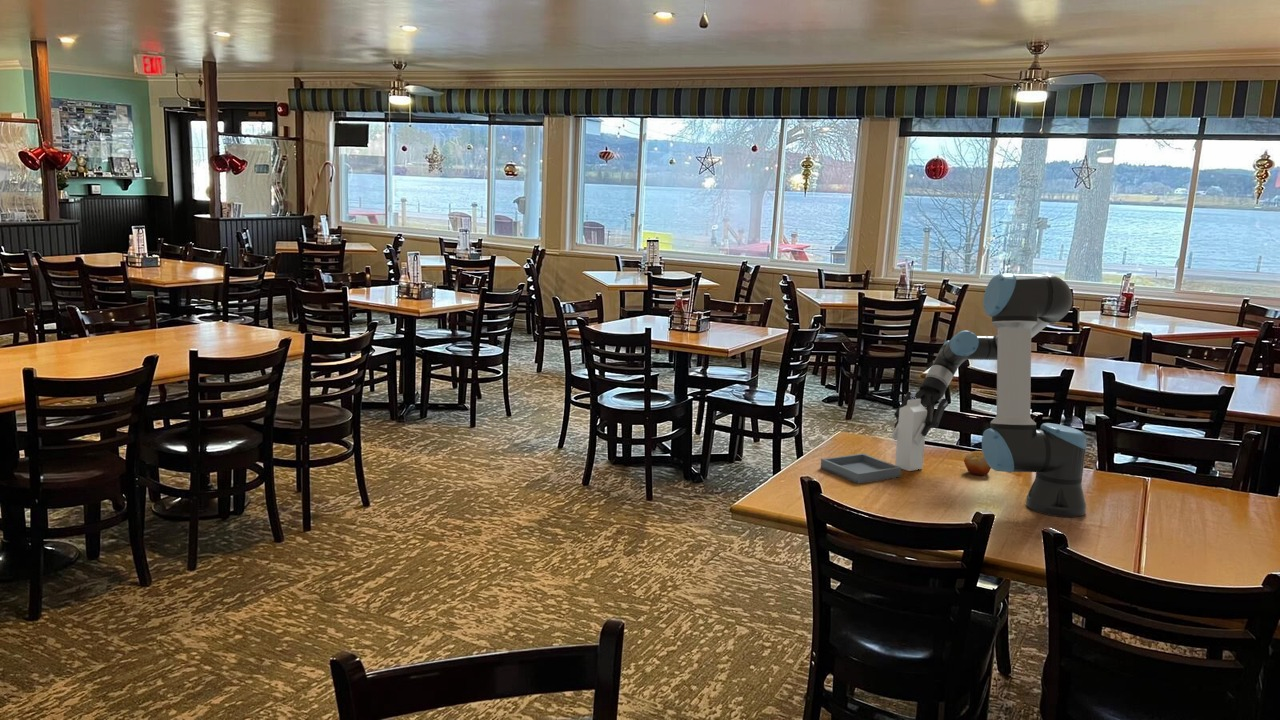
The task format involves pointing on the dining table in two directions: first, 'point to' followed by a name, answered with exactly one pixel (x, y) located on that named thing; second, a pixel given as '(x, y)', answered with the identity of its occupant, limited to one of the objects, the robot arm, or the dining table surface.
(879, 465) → the tray
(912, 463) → the milk
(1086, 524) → the dining table surface
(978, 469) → the fruit
